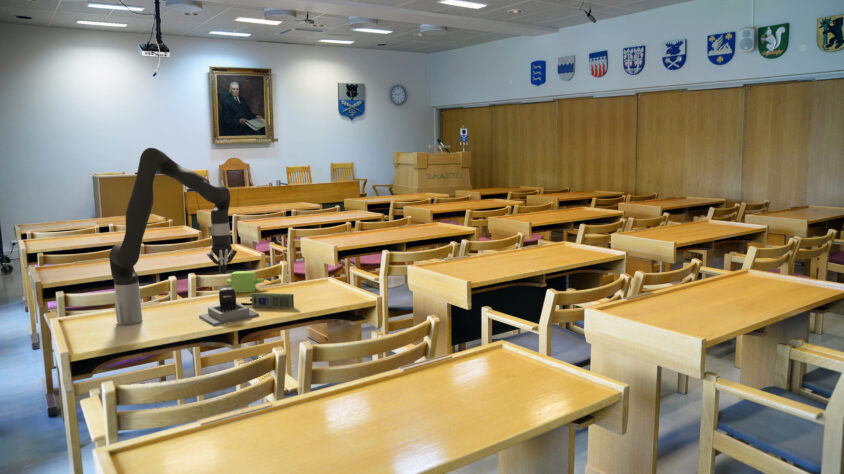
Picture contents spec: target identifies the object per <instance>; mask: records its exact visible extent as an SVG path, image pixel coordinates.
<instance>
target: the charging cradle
mask: <svg viewBox="0 0 844 474" xmlns="http://www.w3.org/2000/svg"><path fill="white" fill-rule="evenodd" d="M236 309H237V310H232V311H228V312H223V313H222V312H221V310H220V304H219V305H218V304H217V305H214V306H210V307H207V313H202V314H199V315H198V318H199V319H201V320H203V321H204V322H207V323H209V324H210V325H212V326H213V325H214V326H213V327H217V326H221V325H224V323H226V324H230V323H233V322H238V320H239V321H243V320H247V319H252V318H255V317H256V318H257V317H259V316H260V314H259V313H257V312H256V311H254V310H251V309H250V308H249V306H244V305H242V304H241V303H240V302H237V301H236ZM229 322H230V323H229ZM220 324H221V325H220ZM216 325H217V326H216Z"/></svg>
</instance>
